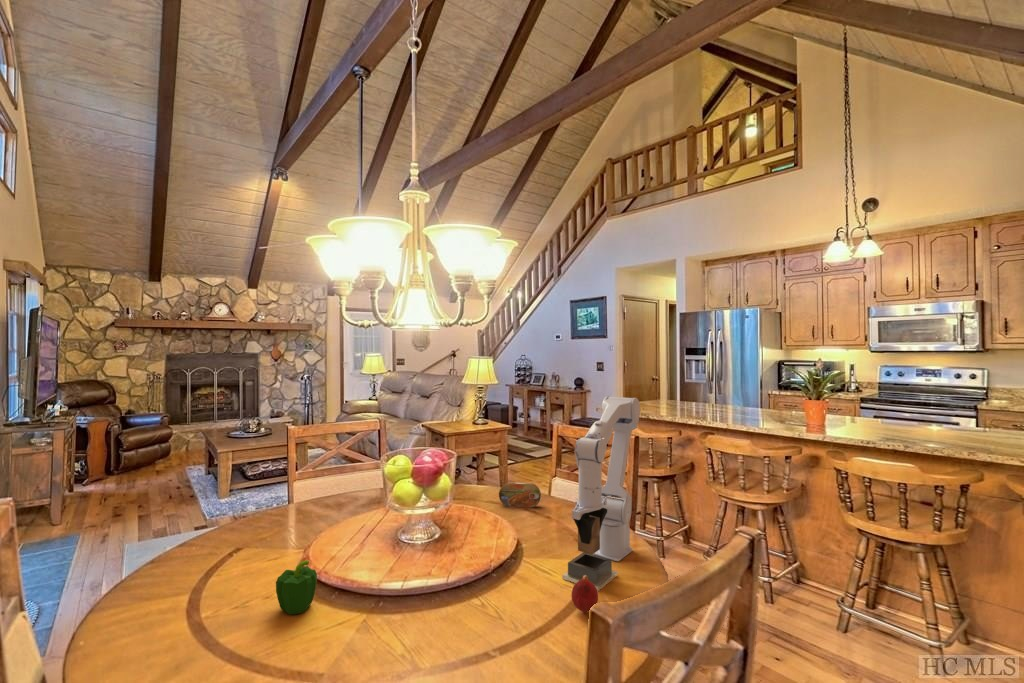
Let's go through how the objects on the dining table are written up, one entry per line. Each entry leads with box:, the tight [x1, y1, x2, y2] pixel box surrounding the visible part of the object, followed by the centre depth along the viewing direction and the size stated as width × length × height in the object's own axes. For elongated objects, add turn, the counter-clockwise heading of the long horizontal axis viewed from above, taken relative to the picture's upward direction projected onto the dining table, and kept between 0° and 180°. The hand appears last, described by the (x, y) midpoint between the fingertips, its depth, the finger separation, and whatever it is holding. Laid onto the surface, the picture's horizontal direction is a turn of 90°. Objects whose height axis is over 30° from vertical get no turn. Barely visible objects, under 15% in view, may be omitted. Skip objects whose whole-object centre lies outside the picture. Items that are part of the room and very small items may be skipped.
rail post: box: [577, 515, 600, 555], centre depth 125 cm, size 4×4×8 cm
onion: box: [571, 575, 599, 614], centre depth 108 cm, size 6×6×8 cm
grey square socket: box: [561, 552, 618, 592], centre depth 125 cm, size 10×10×4 cm
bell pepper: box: [275, 559, 318, 616], centre depth 110 cm, size 8×8×10 cm
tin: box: [498, 481, 542, 509], centre depth 178 cm, size 15×3×8 cm, turn 80°
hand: (589, 539), depth 125 cm, fingers closed on rail post, 4 cm apart
